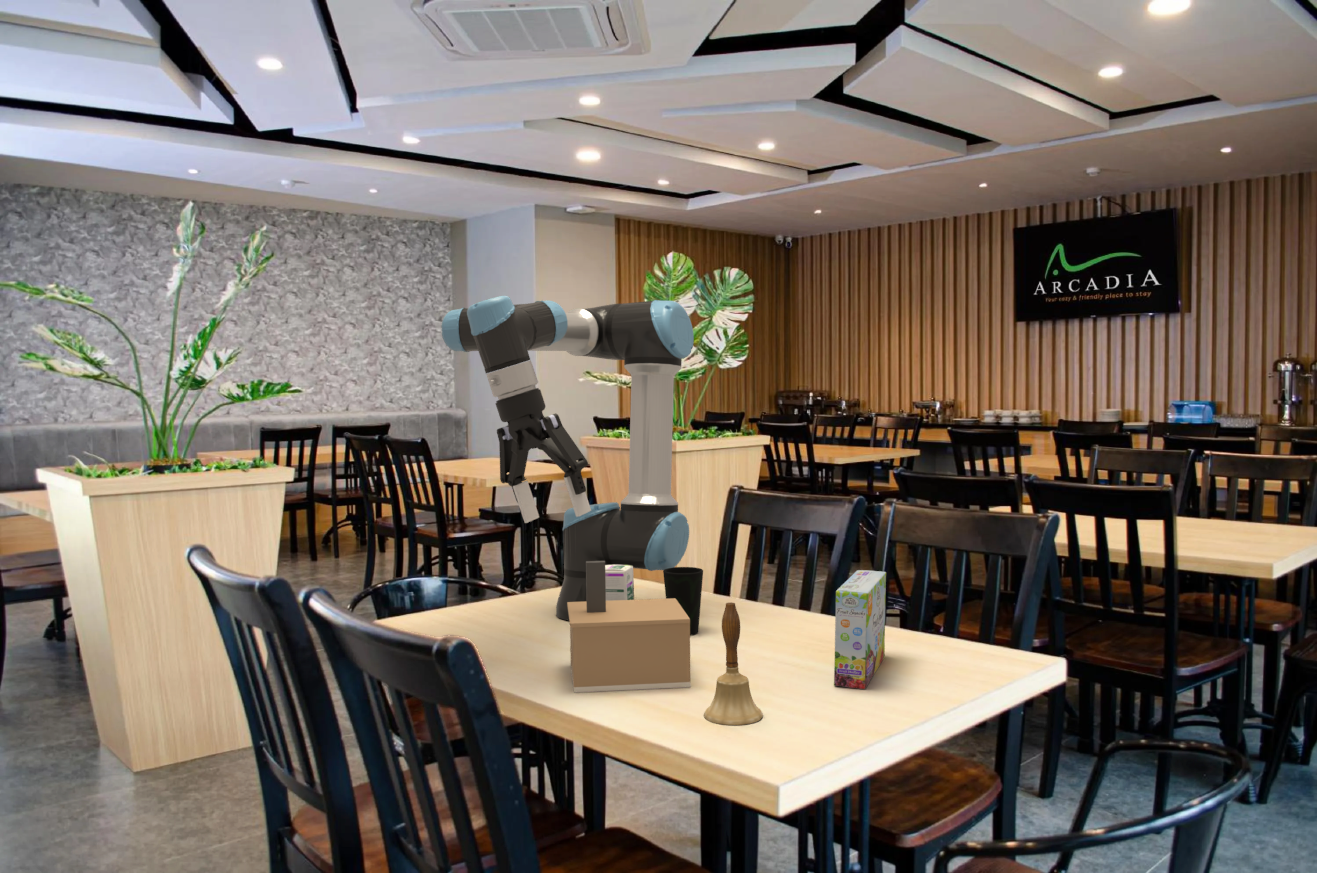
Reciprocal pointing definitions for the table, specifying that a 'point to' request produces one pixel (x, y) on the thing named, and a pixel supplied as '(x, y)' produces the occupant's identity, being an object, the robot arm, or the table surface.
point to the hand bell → (732, 681)
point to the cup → (685, 591)
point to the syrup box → (619, 582)
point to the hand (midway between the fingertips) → (557, 517)
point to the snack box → (859, 628)
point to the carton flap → (619, 606)
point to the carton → (630, 657)
